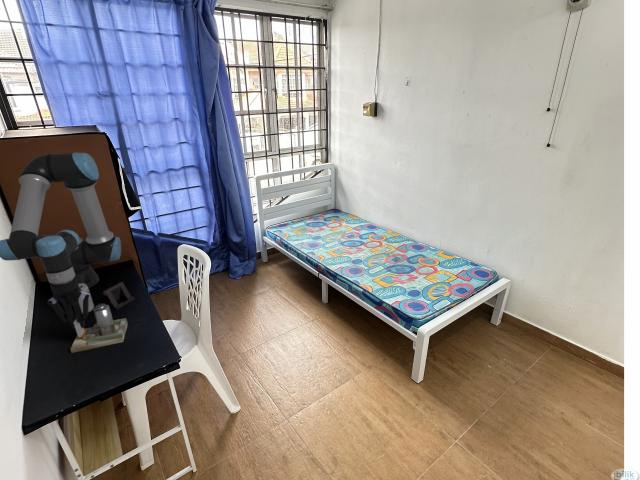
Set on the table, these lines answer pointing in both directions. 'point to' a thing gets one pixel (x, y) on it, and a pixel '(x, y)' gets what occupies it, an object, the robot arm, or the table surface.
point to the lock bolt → (91, 332)
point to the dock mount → (101, 337)
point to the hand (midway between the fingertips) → (81, 334)
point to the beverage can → (84, 289)
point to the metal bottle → (104, 319)
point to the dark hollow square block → (115, 293)
